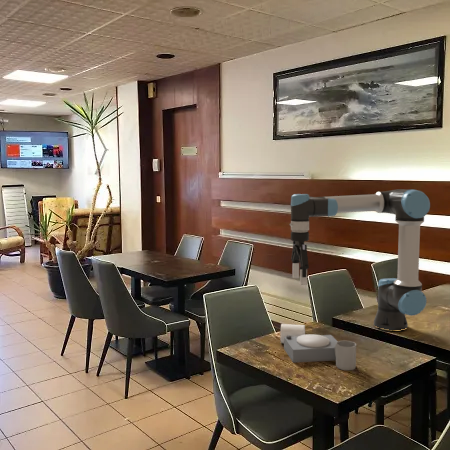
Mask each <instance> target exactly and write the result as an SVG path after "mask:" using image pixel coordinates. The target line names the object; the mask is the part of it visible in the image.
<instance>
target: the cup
mask: <svg viewBox="0 0 450 450" xmlns="http://www.w3.org/2000/svg"><path fill="white" fill-rule="evenodd" d="M337 341H338V340H337ZM335 356H336V360H335V366H336V368H337V369H338V370H342V371H353V370H355V369H356V368H357V367H356V366H357V343H356V342H354V341H351V340H339V341H338V342H337V343H336V345H335Z"/></svg>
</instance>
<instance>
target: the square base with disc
mask: <svg viewBox="0 0 450 450" xmlns="http://www.w3.org/2000/svg"><path fill="white" fill-rule="evenodd" d="M337 342H338V340H337V339H336V338H335V337H334V335H332V334H324V335H323V334H321V335H320V334H313V333H312V334H309V333H308V334H307V333H306V334H305V335H301V336H297V337H291V336H290V335H287V336H286V337H284V343H283V350H284V351H285V353H286V354H287V356H288V357H289V359H290V361H291V362H292V363H312V362H326V361H327V362H329V361H330V362H331V361H336V356H335V345H336V343H337Z"/></svg>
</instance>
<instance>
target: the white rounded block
mask: <svg viewBox="0 0 450 450" xmlns="http://www.w3.org/2000/svg"><path fill="white" fill-rule="evenodd" d="M287 335H290V336H291V337H297V336H301V335H306V325H305V324H290V323H289V324H288V323H281V324H280V343H281V344H284V337H286V336H287Z"/></svg>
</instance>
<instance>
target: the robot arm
mask: <svg viewBox="0 0 450 450" xmlns="http://www.w3.org/2000/svg"><path fill="white" fill-rule="evenodd" d="M430 208H431V202H430V199H429V197H428V196H427V195H426V194H425V192H424V191H422V190H417V189H403V188H400V189H399V188H398V189H392V190H386V191H385V190H384V191H376V193H374V194H373V193H372V194H357V195H356V194H354V195H350V194H349V195H339V196H338V195H334V196H333V195H332V196H310V194H308V193H302V194H301V193H294V194H292V195H291V197H290V223H289V226H290V240H291V241H292V251H291V259H290V260H291V262H292V268H291V269H292V279H299V285H300V286H308V269H309V268H310V267H309V258H308V245H307V244H305V242H309V240H310V233H309V231H310V218H311V217H328V218H329V217H335V216H337V214H340V213H341V214H342V213H345V214H346V213H363V212H364V213H365V212H375V213H377V214H391V215H395V219H394V220H395V222H396V223H397V224H398V244H397V245H398V247H397V248H398V250H397V274H396V275H397V278H396V277H395V278H394V277H392V278H390V277H389V278H388V277H387V278H380V279H379V280H378V286H377V311H376V314H375V316H374V319H373V326H374V325H375V326H377V327H379V328H384V329H389V330H401V329H405V328H407V327H408V326H409V323H408V320H407V317H406V315H408V316H417V315H418V314H421V312H423V311H424V309H426V306H427V296H426V294H425V293H424V292H423V284H422V282H421V281H420V280H419V271H420V270H419V267H420V240H421V239H420V237H421V225H422V224H423V223H424V222H425V216H426V215H427V214H428V213H429V212H430Z"/></svg>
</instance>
